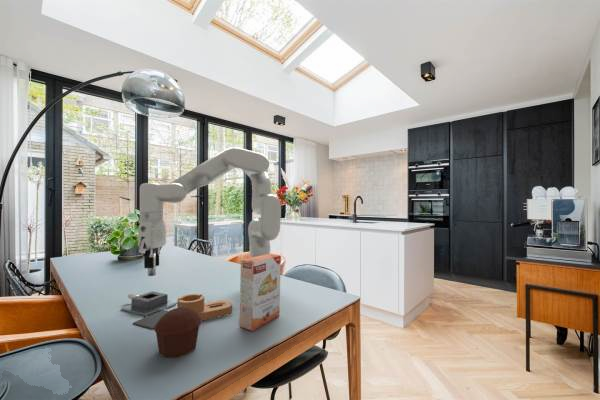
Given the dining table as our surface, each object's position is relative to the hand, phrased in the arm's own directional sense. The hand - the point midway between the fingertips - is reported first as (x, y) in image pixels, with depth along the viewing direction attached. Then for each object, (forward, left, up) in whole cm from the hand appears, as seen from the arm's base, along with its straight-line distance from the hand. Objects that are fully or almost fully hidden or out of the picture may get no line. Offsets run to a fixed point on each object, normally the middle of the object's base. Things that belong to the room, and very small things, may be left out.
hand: (151, 266), depth 98 cm
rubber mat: (-12, +6, -15) cm, 20 cm away
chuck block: (+2, 0, -15) cm, 15 cm away
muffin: (-32, +16, -15) cm, 39 cm away
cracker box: (-43, -7, -15) cm, 46 cm away
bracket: (-23, -3, -15) cm, 28 cm away
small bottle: (0, 0, -3) cm, 3 cm away
